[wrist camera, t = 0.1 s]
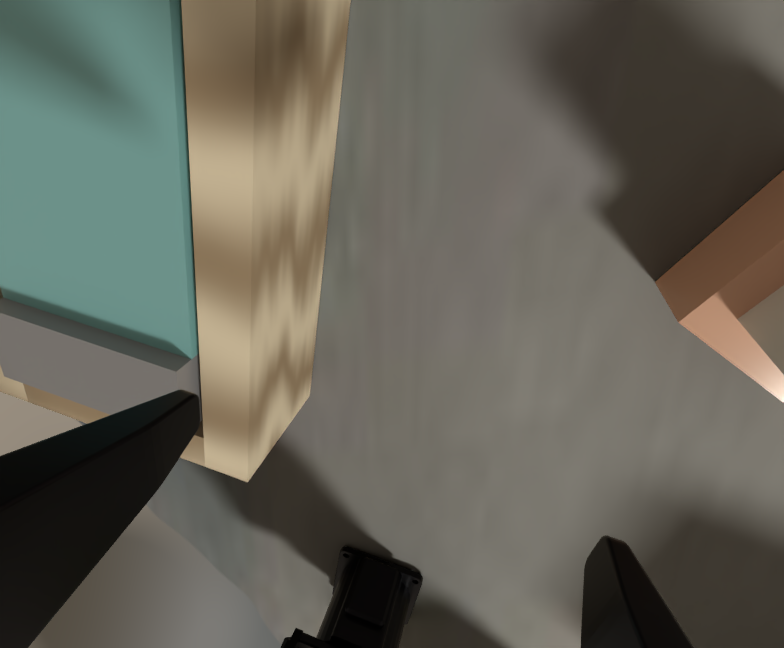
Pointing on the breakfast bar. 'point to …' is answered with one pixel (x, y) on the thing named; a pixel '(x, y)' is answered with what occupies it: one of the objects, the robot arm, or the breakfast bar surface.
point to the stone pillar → (768, 326)
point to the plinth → (733, 282)
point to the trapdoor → (96, 202)
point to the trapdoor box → (253, 215)
